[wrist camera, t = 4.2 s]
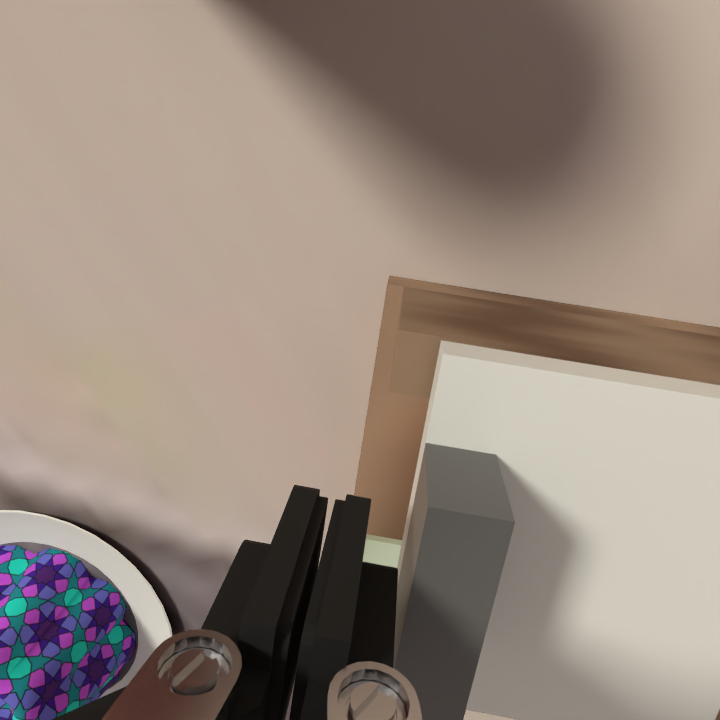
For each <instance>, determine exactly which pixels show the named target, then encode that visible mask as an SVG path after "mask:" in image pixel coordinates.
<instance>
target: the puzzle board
mask: <svg viewBox="0 0 720 720" xmlns="http://www.w3.org/2000/svg"><path fill="white" fill-rule="evenodd" d="M441 340H442V341H449V342H455V343H461V344H467V345H473V346H480V347H486V348H492V349H498V350H504V351H511V352H517V353H523V354H529V355H535V356H541V357H548V358H554V359H560V360H566V361H572V362H579V363H585V364H591V365H597V366H603V367H610V368H616V369H622V370H628V371H634V372H641V373H647V374H653V375H659V376H665V377H672V378H678V379H684V380H690V381H696V382H702V383H709V384H715V385H720V328H718V327H711V326H705V325H699V324H692V323H686V322H679V321H673V320H667V319H660V318H654V317H648V316H641V315H635V314H629V313H622V312H616V311H610V310H603V309H597V308H590V307H584V306H578V305H571V304H565V303H559V302H552V301H546V300H540V299H533V298H527V297H521V296H514V295H508V294H501V293H495V292H489V291H482V290H476V289H470V288H463V287H457V286H451V285H444V284H438V283H432V282H425V281H419V280H412V279H406V278H400V277H393V276H390V277H389V280H388V285H387V291H386V297H385V304H384V310H383V316H382V322H381V329H380V335H379V341H378V348H377V354H376V360H375V367H374V373H373V379H372V386H371V392H370V398H369V405H368V411H367V417H366V424H365V430H364V436H363V443H362V449H361V455H360V461H359V468H358V474H357V480H356V487H355V493H354V496H359V497H365V498H370V499H371V506H370V513H369V520H368V527H367V534H366V541H365V548H364V555H363V562H368V563H373V564H379V565H384V566H389V567H395V568H397V565H398V560H399V554H400V549H401V544H402V539H403V534H404V529H405V523H406V518H407V513H408V508H409V503H410V498H411V493H412V487H413V482H414V477H415V472H416V467H417V462H418V456H419V451H420V446H421V441H422V436H423V431H424V426H425V420H426V415H427V410H428V405H429V400H430V395H431V389H432V384H433V379H434V374H435V369H436V364H437V358H438V353H439V348H440V343H441ZM715 720H720V710H719V712H718V714H717V716H716V719H715Z"/></svg>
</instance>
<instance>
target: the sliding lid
mask: <svg viewBox="0 0 720 720" xmlns="http://www.w3.org/2000/svg"><path fill="white" fill-rule="evenodd" d="M397 568H398V584H397V603H396V623H395V643H394V662H393V668H394V669H396V670H397V671H398V672H400V673H401V674H402V675H403V676H405V677H406V678H407V679H408V681H409V682H410V683H411V685H412V686H413V688H414V689H415V691H416V694H417V697H418V700H419V703H420V709H421V715H422V720H463V718H464V714H465V710H471V711H476V712H481V713H487V714H492V715H497V716H503V717H508V718H513V719H519V720H715V719H716V716H717V714H718V712H719V710H720V385H715V384H709V383H702V382H696V381H690V380H684V379H678V378H672V377H665V376H659V375H653V374H647V373H641V372H634V371H628V370H622V369H616V368H610V367H603V366H597V365H591V364H585V363H579V362H572V361H566V360H560V359H554V358H548V357H541V356H535V355H529V354H523V353H517V352H511V351H504V350H498V349H492V348H486V347H480V346H473V345H467V344H461V343H455V342H449V341H442V340H441V343H440V348H439V353H438V358H437V364H436V369H435V374H434V379H433V384H432V389H431V395H430V400H429V405H428V410H427V415H426V420H425V426H424V431H423V436H422V441H421V446H420V451H419V456H418V462H417V467H416V472H415V477H414V482H413V487H412V493H411V498H410V503H409V508H408V513H407V518H406V523H405V529H404V534H403V539H402V544H401V549H400V554H399V560H398V565H397Z"/></svg>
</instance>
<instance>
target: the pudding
mask: <svg viewBox="0 0 720 720" xmlns="http://www.w3.org/2000/svg"><path fill="white" fill-rule="evenodd" d="M12 542H35V543H41V544H47V545H51V546H54V547H58V548H61V549H64V550H67V551H69V552H71V553H73V554H75V555H77V556H79V557H81V558H83V559H85V560H86V561H88V562H89V563H91V564H92V565H94V566H95V567H97V568H98V569H99V570H100V571H102V572H103V573H104V574H105V575H106V576H107V577H108V578H110V579H111V580H112V582H113V583H114V584H115V585H116V586H117V588H118V589H119V590H120V591H121V592H122V594H123V595H124V597H125V599H126V600H127V602H128V604H129V605H130V607H131V610H132V612H133V614H132V613H130V612H129V611H128V610H126V605H125V603H124V601H123V599H122V597H121V595H120V593H119V592H118V591H117V590H116V589H115V588H114V587H113V586H112V585H111V584H110V583H109V582H108V581H104V580H101V579H97V578H94V577H90V576H89V574H88V572H87V571H86V569H85V567H84V565H83V564H82V562H81V561H80V560H78V559H77V558H75V557H73V556H72V555H70V554H68V553H67V552H63V551H59V550H54V549H50V548H49V549H47V550H44V551H41V552H39V553H36V554H33V553H31V552H29V551H27V550H25V549H24V548H22V547H20V546H18V545H10V546H0V720H52V719H54V718H56V717H58V716H61V715H63V714H65V713H67V712H70V711H72V710H74V709H76V708H78V707H81V706H83V705H85V704H87V703H90V702H92V701H94V700H96V699H99V698H101V697H103V696H105V695H108V694H110V693H112V692H114V691H116V690H119V689H121V688H123V687H125V686H127V685H128V684H129V683H130V681H131V680H132V679H133V677H134V676H135V675H136V674H137V672H138V671H139V670H140V668H141V667H142V666H143V664H144V663H145V662H146V660H147V659H148V658H149V657H150V655H151V654H152V653H153V651H154V650H155V649H156V648H157V647H158V646H159V645H160V644H161V643H162V642H163V641H165V640H166V639H168V638H170V637H172V630H171V625H170V623H169V620H168V617H167V615H166V612H165V610H164V607H163V605H162V603H161V601H160V600H159V598H158V596H157V595H156V593H155V591H154V590H153V588H152V586H151V585H150V584H149V583H148V581H147V580H146V579H145V578H144V577H143V575H142V574H141V573H140V572H139V571H138V569H137V568H136V567H135V566H134V565H133V564H132V563H131V562H130V561H128V560H127V559H126V558H125V557H124V556H123V555H122V554H121V553H119V552H118V551H117V550H116V549H115V548H113V547H112V546H110V545H109V544H107V543H106V542H104V541H103V540H101V539H100V538H98V537H97V536H95V535H94V534H92V533H90V532H88V531H85V530H83V529H81V528H79V527H77V526H75V525H73V524H71V523H69V522H65V521H62V520H59V519H56V518H53V517H50V516H47V515H43V514H37V513H31V512H25V511H18V510H0V544H6V543H12Z"/></svg>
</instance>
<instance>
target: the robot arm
mask: <svg viewBox="0 0 720 720" xmlns="http://www.w3.org/2000/svg"><path fill="white" fill-rule="evenodd" d="M319 493H320V490H319V489H315V488H309V487H304V486H298V485H294V487H293V489H292V492H291V494H290V497H289V499H288V502H287V504H286V507H285V509H284V512H283V514H282V517H281V520H280V522H279V525H278V527H277V530H276V532H275V535H274V537H273V540H272V542H271V544H266V543H260V542H255V541H250V540H244V541H243V543H242V544H241V546H240V548H239V550H238V553H237V555H236V557H235V559H234V561H233V563H232V565H231V567H230V569H229V571H228V574H227V576H226V578H225V580H224V582H223V584H222V586H221V588H220V590H219V593H218V595H217V597H216V599H215V601H214V603H213V605H212V607H211V609H210V611H209V614H208V616H207V618H206V620H205V622H204V624H203V626H202V628H201V629H196V630H188V631H184V632H181V633H177V634H175V635H173V636H172V637H170V638H168V639H166V640H165V641H163V642H162V643H161V644H160V645H159V646H158V647H157V648H156V649H155V650H154V651H153V653H152V654H151V655H150V657H149V658H148V659H147V660H146V662H145V663H144V664H143V666H142V667H141V668H140V670H139V671H138V672H137V674H136V675H135V676H134V677H133V679H132V680H131V681H130V683H129V684H128V685H127V686H125V687H123V688H121V689H119V690H116V691H114V692H112V693H110V694H108V695H105V696H103V697H101V698H99V699H96V700H94V701H92V702H90V703H87V704H85V705H83V706H81V707H78V708H76V709H74V710H72V711H70V712H67V713H65V714H63V715H61V716H58V717H56V718H54V719H52V720H285V717H286V713H287V709H288V705H289V701H290V697H291V693H292V688H293V684H294V680H295V684H294V691H293V698H292V705H291V712H290V719H289V720H422V715H421V709H420V703H419V700H418V697H417V694H416V691H415V689H414V688H413V686H412V685H411V683H410V682H409V681H408V679H407V678H406V677H405V676H403V675H402V674H401V673H400V672H398V671H397V670H396V669H394V668H393V662H394V643H395V623H396V603H397V584H398V568H395V567H389V566H384V565H379V564H373V563H368V562H363V555H364V548H365V541H366V534H367V527H368V520H369V513H370V506H371V499H370V498H365V497H359V496H354V495H348V494H347V496H346V500H345V501H343V500H337V499H336V500H335V504H334V508H333V512H332V516H331V520H330V524H329V528H328V532H327V535H326V539H325V543H324V547H323V551H322V555H321V559H320V563H319V558H320V551H321V544H322V537H323V531H324V524H325V517H326V510H327V504H328V498H326V497H321V496H319ZM318 564H319V567H318ZM295 676H296V677H295Z"/></svg>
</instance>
